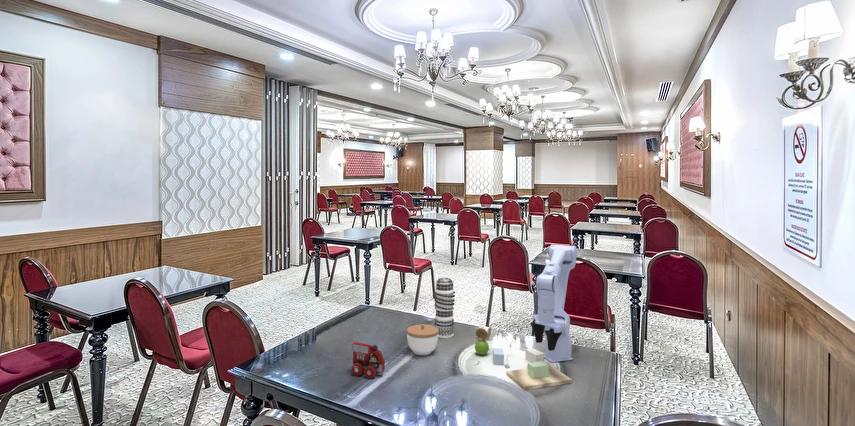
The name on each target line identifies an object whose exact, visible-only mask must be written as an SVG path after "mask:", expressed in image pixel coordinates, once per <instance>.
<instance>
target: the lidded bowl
mask: <svg viewBox="0 0 855 426" xmlns="http://www.w3.org/2000/svg"><path fill="white" fill-rule="evenodd" d="M438 333H439V329H438V328H437V327H435V325H432V324H424V323H421V324H414V325H411V326H408V327H407V328H406V340H407V345H408V347H409V348H410V350H411V351H412V352H413V354H414V355H418V356H428V355H431V354H432V352H433V351H434V350H435V349H436V347H437V345H438V342H439V341H438V340H439V337H438Z"/></svg>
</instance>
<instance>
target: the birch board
mask: <svg viewBox="0 0 855 426" xmlns="http://www.w3.org/2000/svg"><path fill="white" fill-rule="evenodd" d="M548 365H549V364H548ZM505 373H506V374H505V375H506V376H507V377H508V378H510V380H511V381H513V382H514V383H515V384H516V385H518V386H519V387H520V388H521V389H522V390H523V391H528V390H529V391H530V390H535V389H542V388H549V387H555V386H561V385H567V384H568V385H569V384H572V383H573V379H572V378H570V377H569V376H567V375H566V374H564V373H563V372H562V371H560V370H558V369H557V368H556V367H554V366H553V365H552V364H550V365H549V376H548V377H542V378H535V379H533V378H531V377H530V376H529V375H528V367H527V368H522V369H514V370H508V371H506V372H505Z"/></svg>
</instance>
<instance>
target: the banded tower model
mask: <svg viewBox="0 0 855 426" xmlns="http://www.w3.org/2000/svg"><path fill="white" fill-rule="evenodd" d="M435 283H436V285H435V291H434V295H433V296H434V299H433V300H434V304H433V305H434V310H435V318H434V326H435V327H437V328H438V329H439V333H438V338H440V339H449V338H452V337H454V335H455V334H454V333H455V331H454V329H455V328H454V324H455V322H454V321H455V319H454V310H455V307H454V305H455V303H454V302H455V299H454V298H455V297H456V295H455V294H456V291H455V290H454V283H455V282H454V280H452V279H451V278H450V277H439V278H438V279H437V280H436V281H435Z"/></svg>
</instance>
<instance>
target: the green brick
mask: <svg viewBox="0 0 855 426" xmlns="http://www.w3.org/2000/svg"><path fill="white" fill-rule="evenodd" d="M527 368H528V375H529V376H530V377H531V378H533V379H535V378H542V377H548V376H549V364H548V363H547V362H545V361H539V362H532V363H531V362H528V363H527Z"/></svg>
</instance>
